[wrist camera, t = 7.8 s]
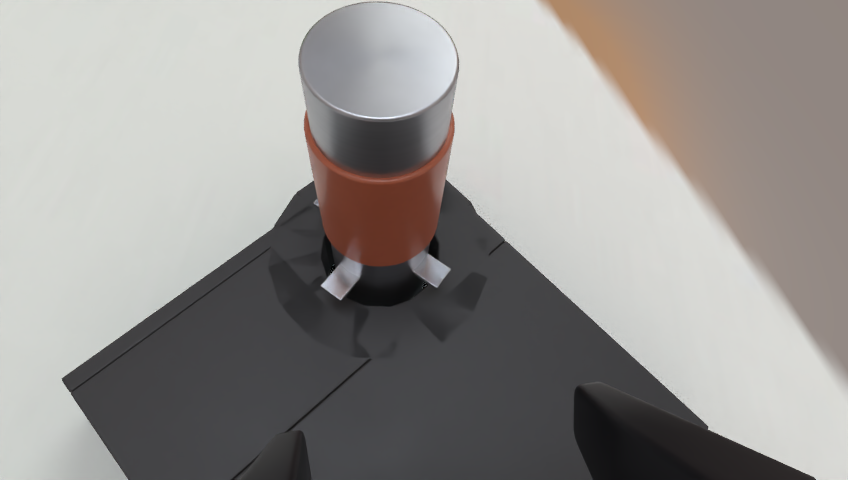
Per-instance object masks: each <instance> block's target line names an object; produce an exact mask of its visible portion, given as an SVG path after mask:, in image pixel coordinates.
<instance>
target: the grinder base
mask: <svg viewBox="0 0 848 480" xmlns="http://www.w3.org/2000/svg"><path fill="white" fill-rule="evenodd" d="M316 199H317V193H316V188H315V183H314V181H313V182H311V183H310V184H308V185H307V186H305V187H304V188H303V189H301V190H300V191H298V192H297V193H296V194H295V195H294V197H293V198H292V200H291V201H290V203H289V204H288V206H287V207H286V209H285V210H284V212H283V213H282V215H281V216H280V218H279V219H278V221H277V222H276V224H275V226H274V228H273V229H272V230H270V231H269V232H267V233H266V234H265V235H263V236H262V237H260V238H259V239H258V240H256V241H255V242H253V243H252V244H251V245H249V246H248V247H246V248H245V249H243V250H242V251H241V252H239V253H238V254H236V255H235V256H234V257H232V258H231V259H229V260H228V261H227V262H225V263H224V264H222V265H221V266H220V267H218V268H217V269H215V270H214V271H213V272H211V273H210V274H208V275H207V276H205V277H204V278H203V279H201V280H200V281H198V282H197V283H196V284H194V285H193V286H191V287H190V288H189V289H187V290H186V291H184V292H183V293H182V294H180V295H179V296H177V297H176V298H174V299H173V300H172V301H170V302H169V303H167V304H166V305H165V306H163V307H162V308H160V309H159V310H158V311H156V312H155V313H153V314H152V315H151V316H149V317H148V318H146V319H145V320H144V321H142V322H141V323H139V324H138V325H136V326H135V327H134V328H132V329H131V330H129V331H128V332H127V333H125V334H124V335H122V336H121V337H120V338H118V339H117V340H115V341H114V342H113V343H111V344H110V345H108V346H107V347H106V348H104V349H103V350H101V351H100V352H98V353H97V354H96V355H94V356H93V357H91V358H90V359H89V360H87V361H86V362H84V363H83V364H82V365H80V366H79V367H77V368H76V369H75V370H73V371H72V372H70V373H69V374H68V375H66V376H65V377H63V378H62V381H63V383H64V384H65V386H66V387H67V389H68V390H69V392H71V395H72V396H73V398H74V399H75V401H76V402H77V404H78V405H79V407H80V408H81V410H82V411H83V413H84V414H85V416H86V417H87V419H88V420H89V422H90V423H91V425H92V426H93V428H94V429H95V431H96V432H97V434H98V435H99V436H100V438H101V439H102V441H103V442H104V444H105V445H106V447H107V448H108V450H109V451H110V453H111V454H112V456H113V457H114V459H115V460H116V462H117V463H118V465H119V466H120V468H121V469H122V471H123V472H124V474H125V475H126V477H127V478H128V480H239V479H240V478H241V477H242V476H243V474H244V473H245V472H246V471H247V469H248V468H249V467H250V466H251V464H252V463H253V462H254V461H255V459H256V458H257V457H258V456H259V454H260V453H261V452H262V451H263V449H264V448H265V447H266V446H267V444H268V443H269V442H270V441H271V439H272V438H273V437H274V436H275V435H276V434H278V433H284V432H290V431H297V430H301V431H302V432H303V433H304V436H305V440H306V446H307V452H308V458H309V464H310V470H311V477H312V480H593V479H592V477H591V474H590V472H589V470H588V467H587V465H586V463H585V461H584V458H583V456H582V454H581V451H580V449H579V447H578V445H577V442H576V439H575V435H574V427H573V424H574V391H575V388H576V387H577V386H578V385H581V384H587V383H593V382H602V383H605V384H607V385H609V386H611V387H613V388H616V389H618V390H620V391H622V392H625V393H627V394H629V395H631V396H634V397H636V398H638V399H640V400H642V401H645V402H647V403H649V404H651V405H654V406H656V407H658V408H660V409H663V410H665V411H667V412H669V413H671V414H674V415H676V416H678V417H680V418H683V419H685V420H687V421H689V422H691V423H694V424H696V425H698V426H700V427H703V428H705V429H707V430H708V426H707V425H706V424H705V423H704V422H703V421H702V420H701V419H700V418H699V417H697V416H696V415H695V414H694V413H693V412H692V411H691V410H690V409H689V408H688V407H687V406H685V405H684V404H683V403H682V402H681V401H680V400H679V399H678V398H677V397H676V396H675V395H673V394H672V393H671V392H670V391H669V390H668V389H667V388H666V387H665V386H664V385H663V384H661V383H660V382H659V381H658V380H657V379H656V378H655V377H654V376H653V375H652V374H651V373H649V372H648V371H647V370H646V369H645V368H644V367H643V366H642V365H641V364H640V363H639V362H637V361H636V360H635V359H634V358H633V357H632V356H631V355H630V354H629V353H628V352H627V351H625V350H624V349H623V348H622V347H621V346H620V345H619V344H618V343H617V342H616V341H615V340H613V339H612V338H611V337H610V336H609V335H608V334H607V333H606V332H605V331H604V330H603V329H602V328H600V327H599V326H598V325H597V324H596V323H595V322H594V321H593V320H592V319H591V318H590V317H588V316H587V315H586V314H585V313H584V312H583V311H582V310H581V309H580V308H579V307H578V306H576V305H575V304H574V303H573V302H572V301H571V300H570V299H569V298H568V297H567V296H566V295H564V294H563V293H562V292H561V291H560V290H559V289H558V288H557V287H556V286H555V285H554V284H552V283H551V282H550V281H549V280H548V279H547V278H546V277H545V276H544V275H543V274H542V273H540V272H539V271H538V270H537V269H536V268H535V267H534V266H533V265H532V264H531V263H530V262H528V261H527V260H526V259H525V258H524V257H523V256H522V255H521V254H520V253H519V252H518V251H516V250H515V249H514V248H513V247H512V246H511V245H510V244H509V243H508V242H506V241H505V239H504V238H503V237H502V236H501V235H500V234H498V233H497V232H496V231H495V230H494V229H493V228H492V227H491V226H490V225H489V224H488V223H486V222H485V221H484V220H483V219H482V218H481V217H480V216H479V215H478V214H477V213H476V211H475V209H474V207H473V205H472V203H471V202H470V201H469V200H468V199H467V198H466V197H464V196H463V195H462V194H461V193H460V192H459V191H458V190H457V189H456V188H455V187H454V186H452V185H451V184H450V183H449V182H448V181H447V180H445V186H444V191H443V197H442V202H441V208H440V213H439V219H438V224H437V228H436V231H435V234H434V236H433V238H432V240H431V241H430V245H429V251H428V254H429V255H431V256H432V257H434V258H435V259H436V260H438V261H439V262H441V263H442V264H444V265H445V266H447V267H448V268H450V269H451V271H450V273H449V274H448V276H447V277H446V278H445V280H444V281H443V282H442V284H441V285H440V286H439V287H438V289H437V290H435V289H434V288H432V287H431V286H429V285H427V286H426V287H425V288H424V289H423V290H421V291H420V292H419V293H418V294H417V295H416V296H414V297H413V298H412V299H411V300H408V301H405V302H402V303H399V304H396V305H393V306H390V307H387V306H367V305H362V304H360V303H358V302H356V301H353V300H351V299H349V298H347V297H345V299H344V300H343V301H342V302H339V301H338V300H337V299H335V298H334V297H333V296H331V295H330V294H328V293H327V292H326V291H324V290H323V289H322V288H321V285H322V283H323V282H324V281H325V280H326V279H327V278H328V277H329V276H330V268H331V267H332V265H333V263H334V258H333V252H332V247H331V242H330V241H329V239H328V237H327V235H326V234H325V231H324V228H323V223H322V218H321V213H320V210H319V209H318V208H316V207H315V206H314V204H313V203H314V201H315V200H316ZM504 241H505V242H504Z"/></svg>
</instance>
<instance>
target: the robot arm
mask: <svg viewBox="0 0 848 480" xmlns="http://www.w3.org/2000/svg"><path fill="white" fill-rule="evenodd" d="M573 427H574V435H575V439H576V442H577V445H578V447H579V449H580V451H581V454H582V456H583V458H584V461H585V463H586V465H587V467H588V470H589V472H590V474H591V477H592V479H593V480H816V479H815V478H814V477H812V476H810V475H807V474H805V473H803V472H801V471H799V470H796V469H794V468H792V467H790V466H787V465H785V464H783V463H781V462H778V461H776V460H774V459H772V458H770V457H767V456H765V455H763V454H761V453H758V452H756V451H754V450H752V449H749V448H747V447H745V446H743V445H741V444H738V443H736V442H734V441H732V440H729V439H727V438H725V437H723V436H720V435H718V434H716V433H714V432H712V431H709V430H707V429H705V428H703V427H700V426H698V425H696V424H694V423H691V422H689V421H687V420H685V419H683V418H680V417H678V416H676V415H674V414H671V413H669V412H667V411H665V410H663V409H660V408H658V407H656V406H654V405H651V404H649V403H647V402H645V401H642V400H640V399H638V398H636V397H634V396H631V395H629V394H627V393H625V392H622V391H620V390H618V389H616V388H613V387H611V386H609V385H607V384H605V383H602V382H593V383H587V384H581V385H578V386H577V387H576V388H575V391H574V424H573ZM239 480H312V477H311V470H310V464H309V458H308V452H307V446H306V440H305V436H304V433H303V432H302V431H301V430H297V431H290V432H284V433H278V434H276V435H275V436H274V437H273V438H272V439H271V441H270V442H269V443H268V444H267V446H266V447H265V448H264V449H263V451H262V452H261V453H260V454H259V456H258V457H257V458H256V459H255V461H254V462H253V463H252V464H251V466H250V467H249V468H248V469H247V471H246V472H245V473H244V474H243V476H242V477H241V478H240V479H239Z"/></svg>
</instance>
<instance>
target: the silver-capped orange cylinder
mask: <svg viewBox="0 0 848 480" xmlns="http://www.w3.org/2000/svg"><path fill="white" fill-rule="evenodd" d="M298 65H299V71H300V76H301V82H302V87H303V93H304V98H305V104H306V112H305V118H304V131H305V137H306V142H307V147H308V152H309V157H310V163H311V168H312V173H313V178H314V183H315V188H316V193H317V199H316V200H315V201H314V203H313V204H314V206H315V207H316V208H318V209H319V210H320V213H321V218H322V223H323V228H324V231H325V234H326V235H327V237H328V239H329V241H330V242H331V247H332V252H333V258H334V263H335V270H334V271H333V272H332V273H331V274H330V276H329V277H328V278H327V279H326V280H325V281H324V282H323V283H322V285H321V288H322V289H323V290H324V291H326V292H327V293H328V294H330V295H331V296H333V297H334V298H335V299H337V300H338V301H339V302H342V301H343V300H344V299H345V297H347V298H349V299H351V300H353V301H356V302H358V303H360V304H362V305H367V306H387V307H390V306H393V305H396V304H399V303H402V302H405V301H408V300H411V299H412V298H413V297H414V296H416V295H417V294H418V293H419V292H420V291H421V290H422V287H423V281H424V282H425V283H426V284H428V285H429V286H431V287H432V288H434V289H435V290H437V289H438V287H439V286H440V285H441V284H442V282H443V281H444V280H445V278H446V277H447V276H448V274H449V273H450V271H451V269H450V268H448V267H447V266H445V265H444V264H442V263H441V262H439V261H438V260H436V259H435V258H434V257H432V256H431V255H429V254H428V251H429V245H430V241H431V240H432V238H433V236H434V234H435V231H436V228H437V224H438V219H439V213H440V208H441V202H442V197H443V191H444V186H445V180H446V175H447V169H448V164H449V158H450V153H451V147H452V142H453V136H454V117H453V113H452V107H453V102H454V96H455V90H456V84H457V78H458V72H459V58H458V53H457V50H456V47H455V44H454V42H453V40H452V38H451V37H450V35H449V34H448V33H447V31H446V30H445V29H444V28H443V27H442V26H441V25H440V24H439V23H438V22H437V21H435V20H434V19H433V18H431V17H430V16H428V15H427V14H425V13H423V12H421V11H419V10H417V9H414V8H411V7H408V6H405V5H401V4H396V3H390V2H363V3H357V4H352V5H348V6H345V7H342V8H340V9H337V10H335V11H333V12H331V13H329V14H327V15H326V16H324V17H323V18H322V19H320V20H319V21H318V22H317V23H316V24H315V25H314V26H312V28H311V29H310V30H309V32H308V33H307V34H306V36H305V38H304V40H303V42H302V45H301V48H300V52H299V59H298Z"/></svg>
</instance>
